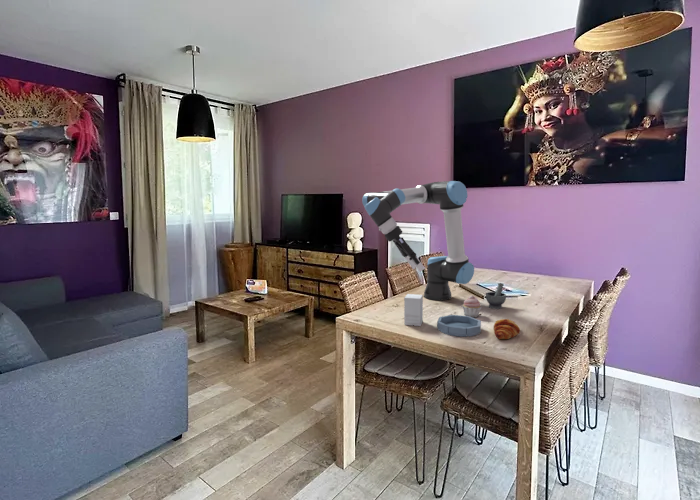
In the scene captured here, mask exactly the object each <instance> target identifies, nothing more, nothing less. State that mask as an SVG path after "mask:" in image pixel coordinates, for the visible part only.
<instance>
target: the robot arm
mask: <svg viewBox="0 0 700 500" xmlns="http://www.w3.org/2000/svg"><path fill="white" fill-rule="evenodd" d="M361 199H362V205H363V207H364V209H365V211H366V213H367V215H368V216H369V217H370V218H371V220H372V221H373V223H374V224H375V225H376V226H377V227H378V231H379V232H381V233H382V234H383V235H384V237H385V239H386V240H387V242H389V243H390V242H393V243H394V245H395V246H396V247H397V249H398V251H399V252H400V254H401V256H402V257H404V259H405V260H406V262H407V264H409V266H410V267H411V268H412V269H413V270H414V269H417V270H418V271H419V273H421V272H422V271H424V270H425V269H426V267H425V266H424V265H423V264H424V263H422V262H421V261H420V259H419V257H418V256H417V253H416V252H415V251H414V249H412V248H411V246H410V245H409V244H408V242H406V240H405V239H404V237H401V236H400V235H402V234H403V230H402V229H401V227H400V226H399V225H398V223H397V222H396V220H395V219H394V217H392V215H391V213H393V211H395V210H396V209H397V208H399V207H400V206H402V205H407V204H415V203H418V204H420V205H421V204H432V205H439V210H440V211H441V212H443V219H444V220H443V221H444V228H445V238H446V248H447V255H443V256H442V255H441V256H439V255H438V256H430V257H429V258H428V259H427V264H426V265H427V270H426V273H427V282H426V283H427V284H426V286H425V288H424V291H423V292H424V293H423V298H425V299H427V300H432V301H448V300H450V299H452V291H451V287H450V285H449V283H455V284H459V285H460V284H462V285H466V284H469V282H470V281H472V278H473V277H474V275H475V266H474V264H473V263H471V262H470V261H469V257H468V256H467V255H466V253H465V241H464V239H465V238H464V231H463V229H464V228H463V220H462V209H463V208H464V205H465V203H466V201H467V199H468V190H467V188H466V185H465V184H464V183H463V182H461V181H459V180H458V181H456V180H446V181H445V180H443V181H433V182H429V183H425V184H419V185H416V186H415V187H409V188H402V189H401V188H398V187H397V188H396V187H395V188H394V189H392V190H386V191H378V192H372V191H371V192H366V193H365V194H364V195H363V196H362V198H361Z"/></svg>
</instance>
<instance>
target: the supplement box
mask: <svg viewBox="0 0 700 500" xmlns="http://www.w3.org/2000/svg"><path fill="white" fill-rule="evenodd" d="M423 298H424V294H413V293H407V294H406V295H405V296H404V297H403V301H404V302H403V303H404V304H403V305H404V307H403V308H404V310H403V311H404V313H403V314H404V317H403V318H404V324H403V325H404V326H413V325H414V326H415V327H420V326H421V325H422V323H423V321H424V320H423V318H424V317H423V315H424V314H423V311H424V308H423V306H424V305H423V303H424V302H423V301H424V299H423Z"/></svg>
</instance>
